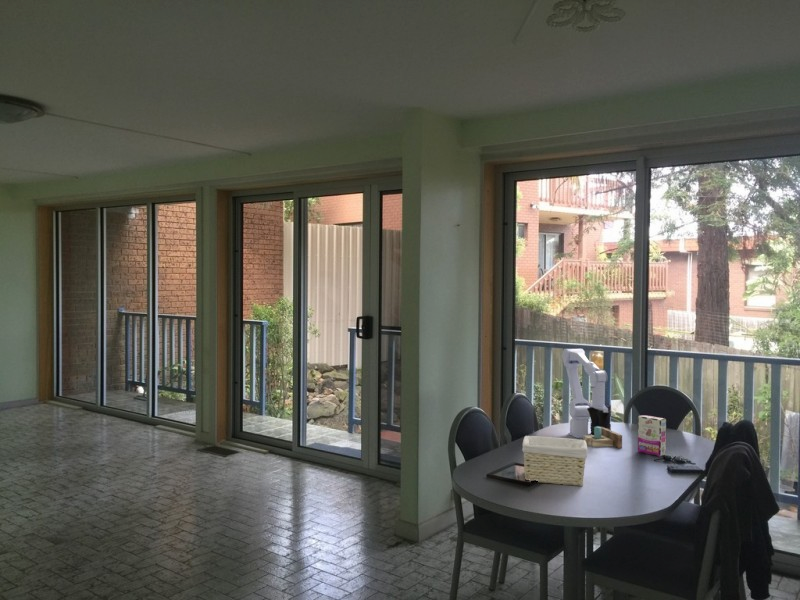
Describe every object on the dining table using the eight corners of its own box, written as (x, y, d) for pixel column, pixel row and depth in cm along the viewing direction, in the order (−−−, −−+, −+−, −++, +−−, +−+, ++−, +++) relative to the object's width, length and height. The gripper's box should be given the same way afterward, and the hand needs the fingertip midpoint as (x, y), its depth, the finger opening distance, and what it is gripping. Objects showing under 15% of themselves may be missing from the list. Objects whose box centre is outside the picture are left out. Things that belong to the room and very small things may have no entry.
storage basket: (585, 475, 248) (585, 438, 248) (587, 488, 233) (587, 448, 232) (523, 471, 254) (523, 434, 254) (521, 483, 239) (521, 444, 238)
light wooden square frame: (583, 441, 303) (583, 435, 303) (602, 441, 305) (602, 434, 305) (593, 447, 293) (593, 440, 293) (613, 446, 295) (613, 439, 295)
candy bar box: (666, 455, 280) (667, 418, 279) (660, 457, 277) (660, 419, 276) (643, 450, 289) (643, 414, 288) (637, 451, 286) (637, 415, 285)
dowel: (592, 443, 300) (592, 426, 300) (598, 443, 301) (598, 426, 301) (596, 445, 297) (596, 428, 297) (602, 444, 298) (602, 427, 298)
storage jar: (613, 433, 321) (613, 404, 320) (608, 437, 312) (608, 407, 312) (593, 431, 326) (593, 402, 326) (587, 435, 318) (588, 405, 317)
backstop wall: (598, 439, 309) (598, 426, 309) (602, 439, 310) (602, 426, 309) (618, 448, 291) (618, 435, 291) (622, 448, 292) (622, 435, 292)
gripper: (583, 393, 305) (582, 421, 305) (598, 399, 291) (597, 428, 291) (596, 393, 307) (596, 421, 307) (612, 398, 292) (611, 427, 293)
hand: (597, 424), depth 299 cm, fingers open, 7 cm apart
